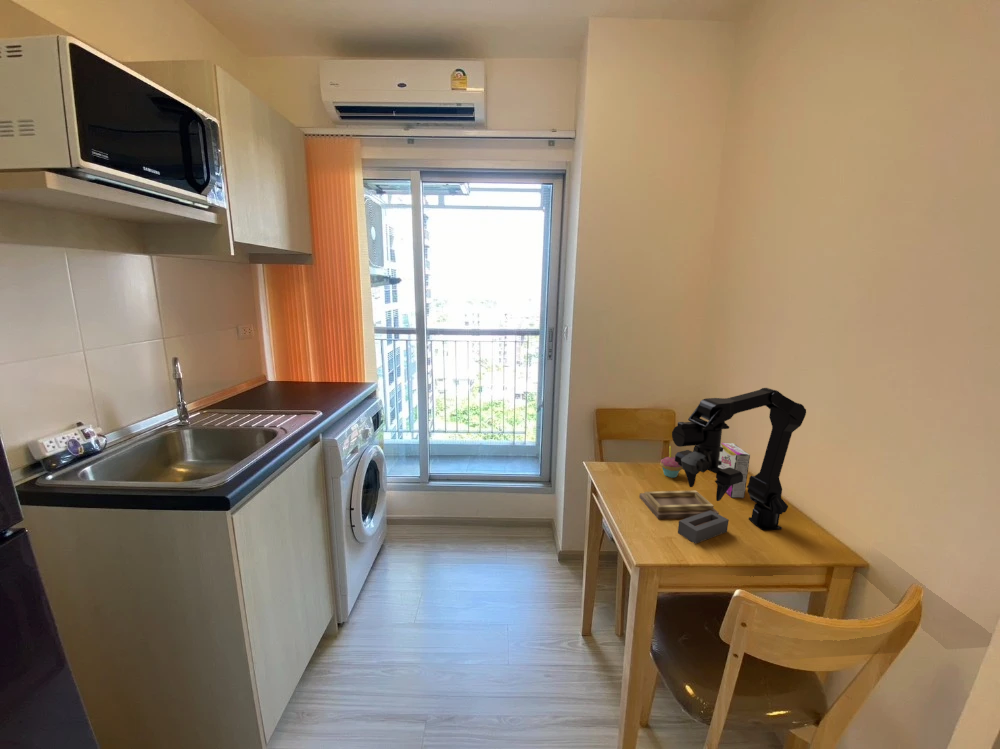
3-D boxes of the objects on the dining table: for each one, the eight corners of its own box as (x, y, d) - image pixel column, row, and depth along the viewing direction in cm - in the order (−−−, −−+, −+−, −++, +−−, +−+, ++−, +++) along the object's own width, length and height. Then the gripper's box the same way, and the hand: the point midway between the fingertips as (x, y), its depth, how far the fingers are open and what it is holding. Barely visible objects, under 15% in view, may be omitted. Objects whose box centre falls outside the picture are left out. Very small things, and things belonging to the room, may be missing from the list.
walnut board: (694, 495, 145) (695, 488, 144) (718, 517, 131) (719, 508, 131) (639, 497, 143) (640, 489, 143) (657, 518, 130) (658, 510, 129)
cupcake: (654, 472, 164) (657, 443, 162) (671, 469, 167) (674, 441, 165) (670, 481, 156) (673, 451, 154) (687, 478, 159) (690, 448, 157)
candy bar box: (714, 483, 155) (720, 442, 152) (728, 484, 155) (733, 442, 152) (730, 498, 144) (736, 454, 141) (745, 498, 144) (751, 454, 141)
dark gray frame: (709, 521, 128) (710, 510, 128) (727, 531, 123) (728, 519, 122) (677, 532, 122) (679, 520, 121) (695, 543, 117) (696, 531, 116)
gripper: (663, 437, 123) (659, 485, 126) (718, 460, 106) (712, 515, 109) (690, 431, 127) (686, 478, 130) (747, 452, 111) (741, 506, 114)
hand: (704, 493), depth 121 cm, fingers open, 9 cm apart
